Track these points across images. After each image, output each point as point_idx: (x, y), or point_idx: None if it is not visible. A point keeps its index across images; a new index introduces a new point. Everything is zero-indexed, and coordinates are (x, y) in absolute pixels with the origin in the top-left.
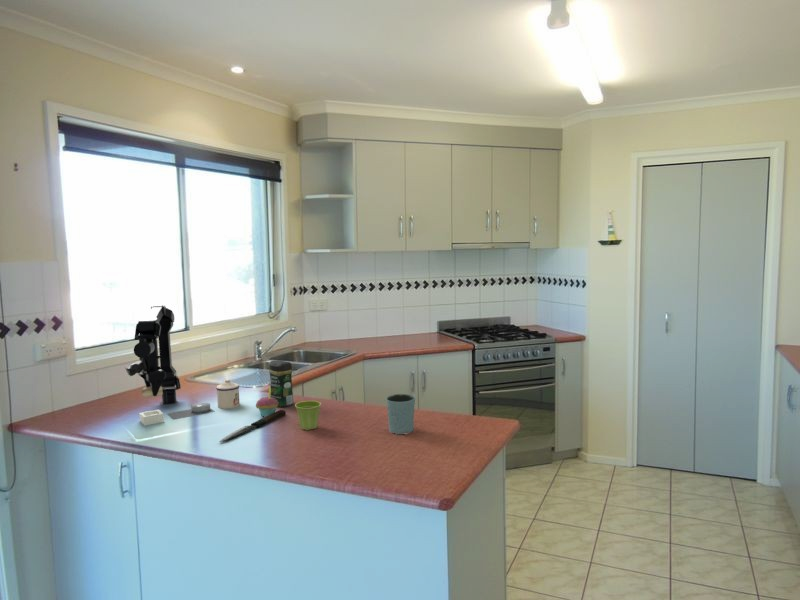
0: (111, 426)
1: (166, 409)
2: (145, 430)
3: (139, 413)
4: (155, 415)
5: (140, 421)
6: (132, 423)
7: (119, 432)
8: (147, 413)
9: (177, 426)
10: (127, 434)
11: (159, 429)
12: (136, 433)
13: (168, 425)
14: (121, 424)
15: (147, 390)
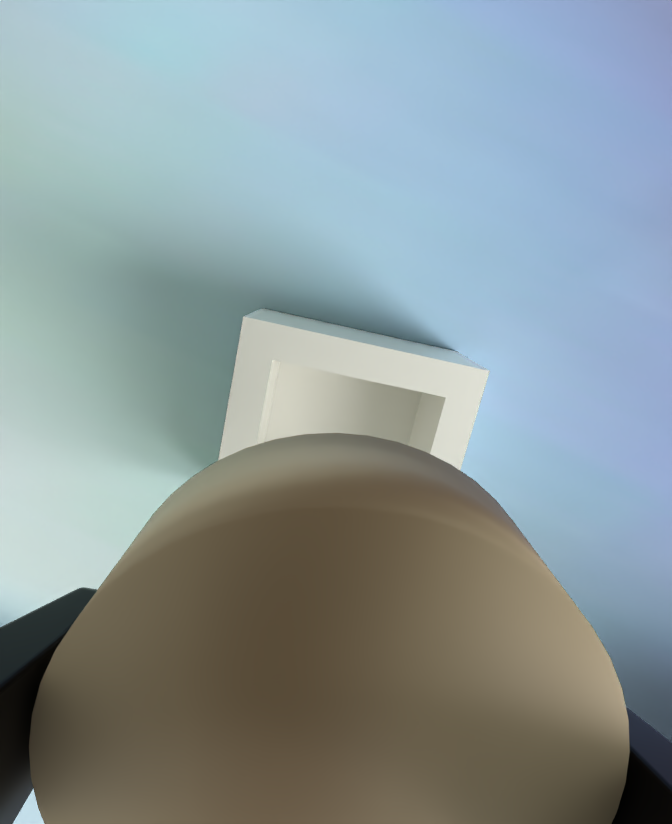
0: (629, 88)
1: (663, 708)
2: (159, 270)
3: (477, 367)
4: (221, 453)
5: (430, 347)
6: (522, 298)
7: (319, 41)
8: (427, 446)
9: (45, 526)
10: (169, 69)
11: (81, 377)
12: (127, 156)
13: (144, 490)
14: (597, 202)
15: (167, 597)
